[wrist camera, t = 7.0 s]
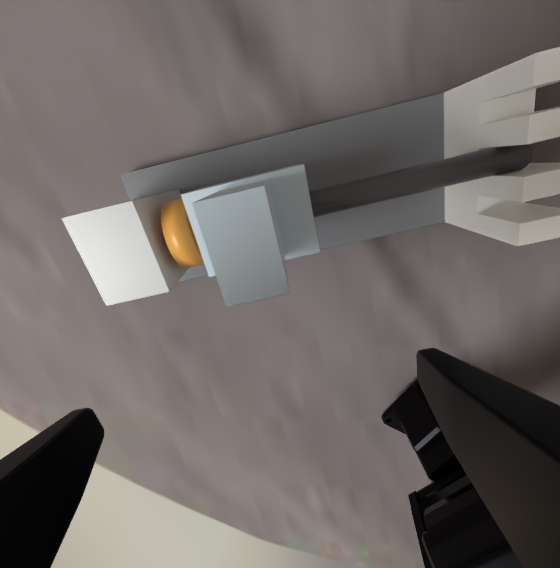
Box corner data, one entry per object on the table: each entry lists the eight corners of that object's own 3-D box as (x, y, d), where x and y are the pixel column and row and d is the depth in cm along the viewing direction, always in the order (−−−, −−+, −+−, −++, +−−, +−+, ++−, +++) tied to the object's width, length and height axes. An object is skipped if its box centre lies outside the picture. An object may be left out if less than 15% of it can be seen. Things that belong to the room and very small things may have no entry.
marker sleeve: (296, 164, 14) (318, 163, 7) (310, 234, 16) (339, 288, 9) (201, 188, 15) (135, 208, 8) (222, 253, 16) (182, 322, 9)
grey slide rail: (483, 84, 16) (624, 29, 10) (478, 209, 19) (587, 233, 12) (127, 174, 17) (41, 179, 11) (170, 279, 20) (120, 333, 14)
